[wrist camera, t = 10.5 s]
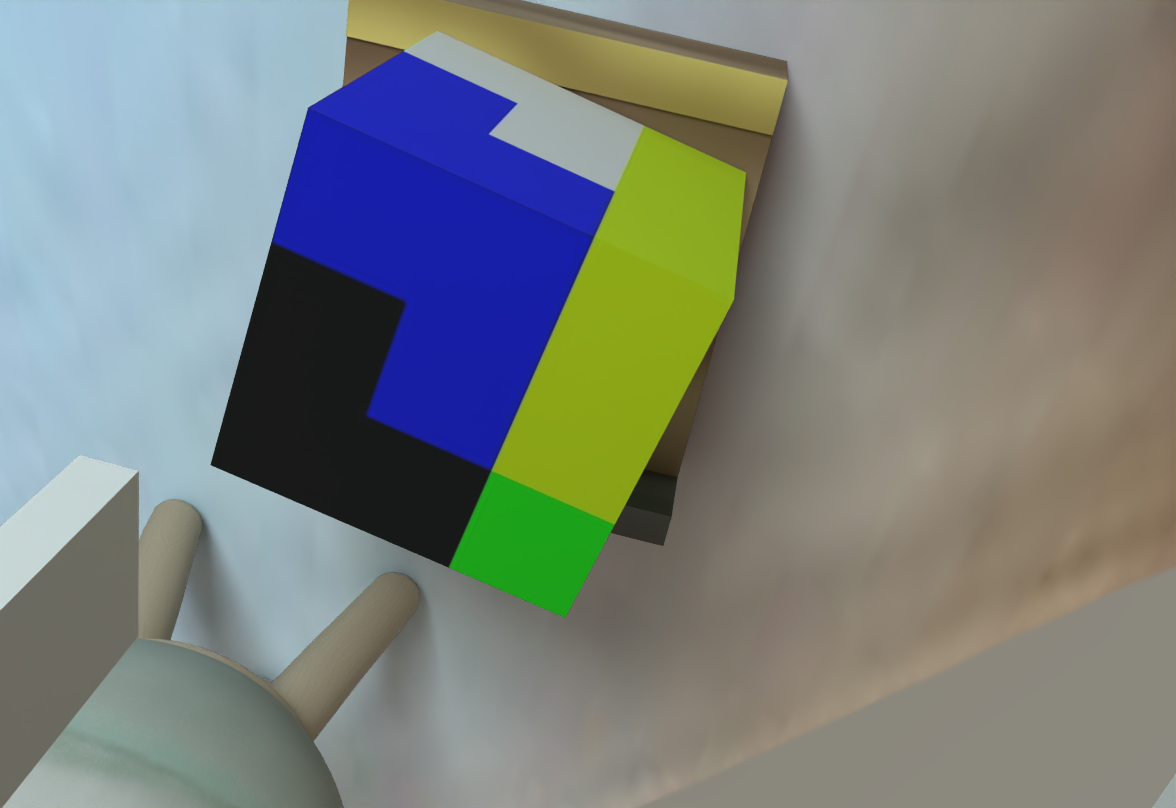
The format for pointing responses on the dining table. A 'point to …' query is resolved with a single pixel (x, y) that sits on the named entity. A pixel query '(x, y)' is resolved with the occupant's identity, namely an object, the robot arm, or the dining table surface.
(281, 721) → the planter
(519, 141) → the puzzle toy
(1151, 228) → the dining table surface
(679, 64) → the dock
